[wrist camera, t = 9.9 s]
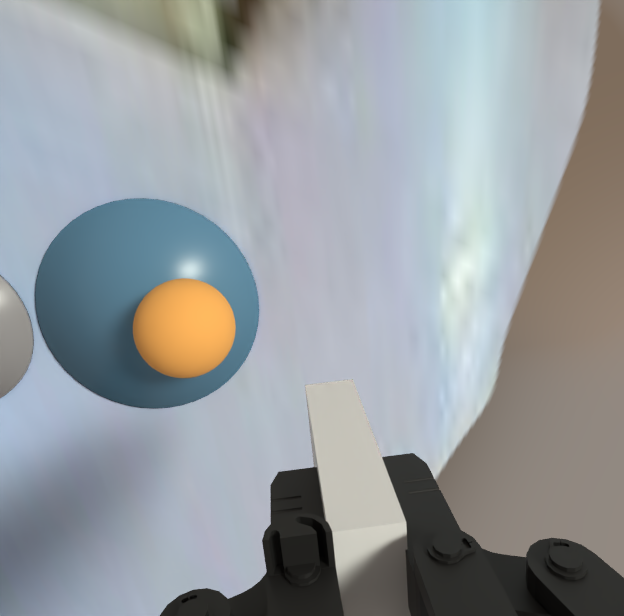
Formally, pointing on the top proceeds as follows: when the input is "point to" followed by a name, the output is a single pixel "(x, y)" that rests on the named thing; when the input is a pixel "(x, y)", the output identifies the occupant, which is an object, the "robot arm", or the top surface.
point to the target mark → (136, 296)
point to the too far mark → (13, 338)
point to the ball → (184, 328)
